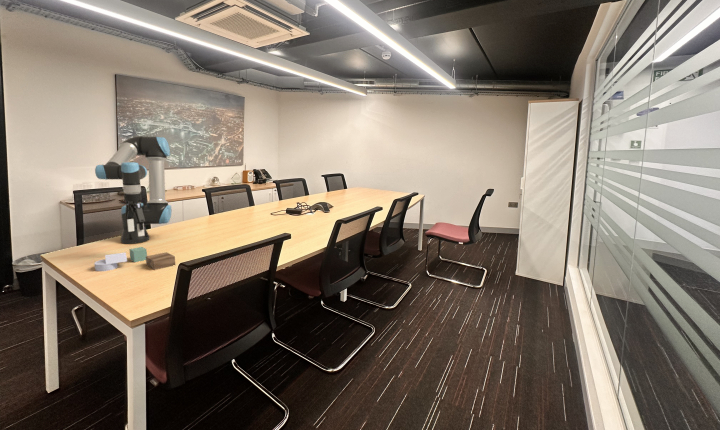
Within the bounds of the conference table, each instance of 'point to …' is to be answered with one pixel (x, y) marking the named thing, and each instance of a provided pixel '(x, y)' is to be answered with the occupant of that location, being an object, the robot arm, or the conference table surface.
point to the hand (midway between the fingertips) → (136, 233)
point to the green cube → (138, 254)
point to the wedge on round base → (110, 262)
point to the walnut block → (160, 260)
